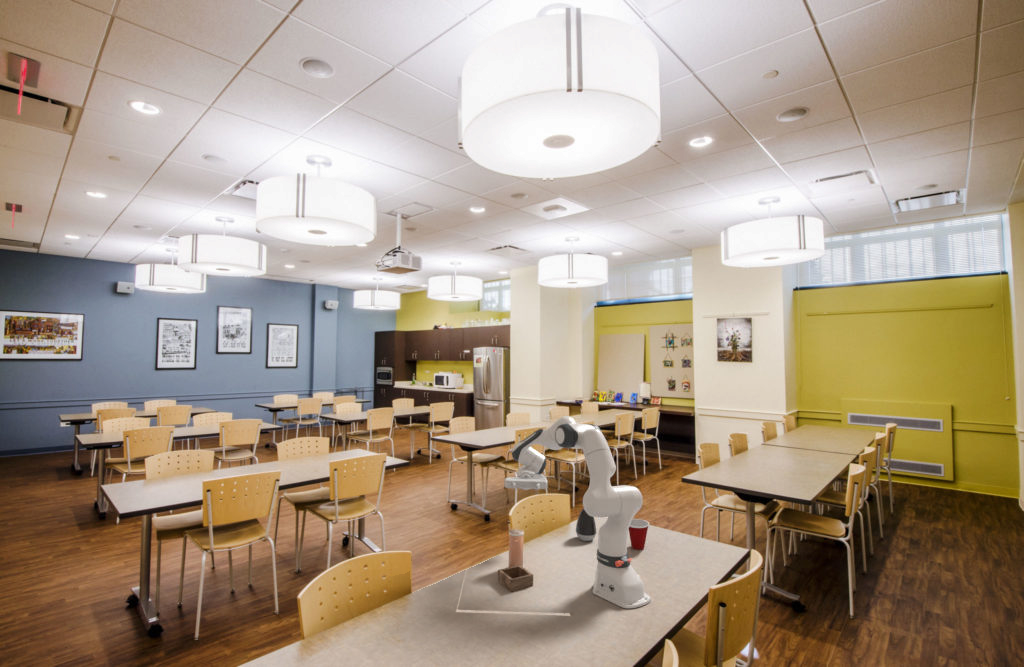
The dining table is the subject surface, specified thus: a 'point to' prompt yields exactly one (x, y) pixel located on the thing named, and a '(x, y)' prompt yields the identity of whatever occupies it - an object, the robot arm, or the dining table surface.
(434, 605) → the dining table surface
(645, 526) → the plastic cup
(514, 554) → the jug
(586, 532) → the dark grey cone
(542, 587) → the dining table surface
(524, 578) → the holder
